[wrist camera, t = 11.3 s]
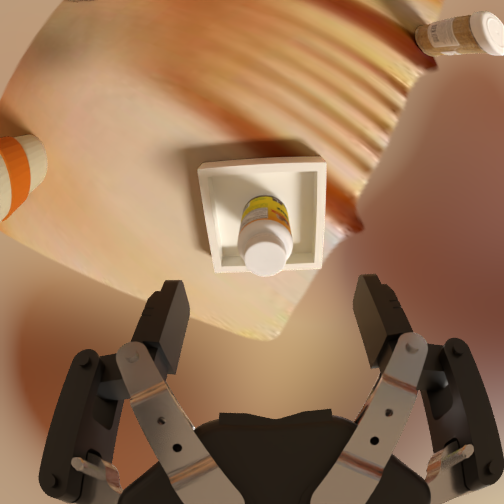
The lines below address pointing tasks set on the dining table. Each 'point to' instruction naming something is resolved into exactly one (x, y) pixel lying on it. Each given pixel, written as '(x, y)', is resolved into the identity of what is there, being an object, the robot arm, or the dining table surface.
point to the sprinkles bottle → (462, 35)
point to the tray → (264, 183)
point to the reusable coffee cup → (19, 170)
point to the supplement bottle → (265, 235)
